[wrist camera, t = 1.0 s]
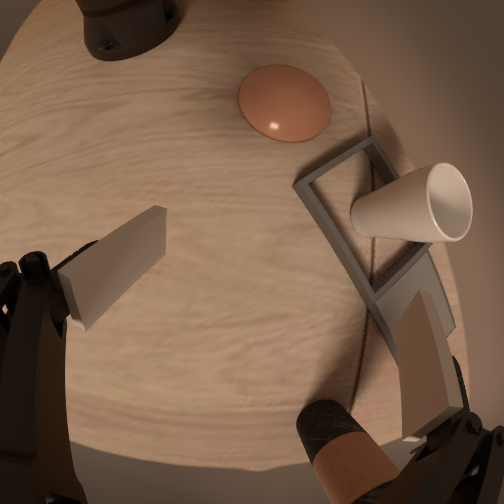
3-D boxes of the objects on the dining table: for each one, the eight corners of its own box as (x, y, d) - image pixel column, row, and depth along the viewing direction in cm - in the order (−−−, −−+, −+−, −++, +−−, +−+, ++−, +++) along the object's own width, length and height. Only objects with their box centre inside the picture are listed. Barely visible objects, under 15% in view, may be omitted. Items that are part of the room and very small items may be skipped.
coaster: (219, 88, 29) (220, 85, 29) (292, 57, 31) (293, 55, 30) (275, 159, 30) (276, 157, 30) (345, 119, 32) (347, 118, 31)
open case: (292, 186, 31) (298, 181, 28) (363, 141, 32) (372, 134, 29) (403, 378, 34) (412, 384, 31) (452, 325, 35) (462, 328, 32)
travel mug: (282, 427, 31) (330, 538, 11) (320, 389, 32) (400, 488, 12) (319, 444, 32) (375, 536, 12) (354, 409, 33) (431, 491, 13)
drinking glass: (381, 250, 32) (469, 252, 18) (338, 235, 32) (421, 226, 17) (390, 201, 33) (474, 180, 18) (349, 183, 32) (428, 146, 17)
